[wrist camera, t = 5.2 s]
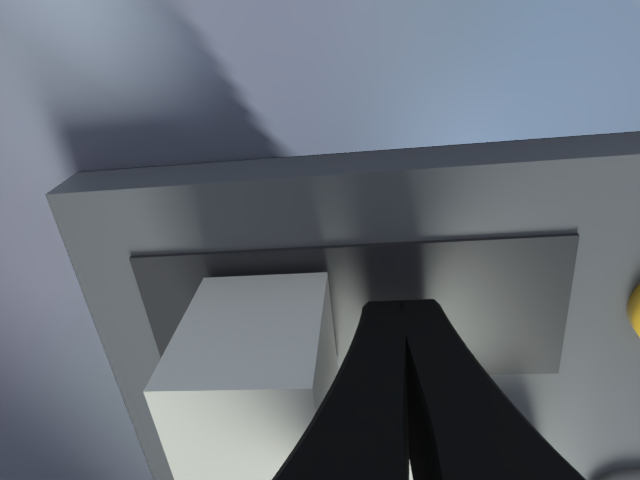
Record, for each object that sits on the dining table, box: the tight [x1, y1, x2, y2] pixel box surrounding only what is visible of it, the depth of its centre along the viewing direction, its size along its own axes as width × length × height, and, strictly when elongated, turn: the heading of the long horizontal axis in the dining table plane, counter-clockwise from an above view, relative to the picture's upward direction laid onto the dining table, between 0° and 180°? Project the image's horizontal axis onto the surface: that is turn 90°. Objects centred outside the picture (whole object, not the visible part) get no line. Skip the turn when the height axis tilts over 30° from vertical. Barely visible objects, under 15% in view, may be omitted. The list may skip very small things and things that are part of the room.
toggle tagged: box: [143, 272, 338, 480], centre depth 9 cm, size 2×2×3 cm
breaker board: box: [45, 131, 640, 480], centre depth 12 cm, size 13×11×2 cm
